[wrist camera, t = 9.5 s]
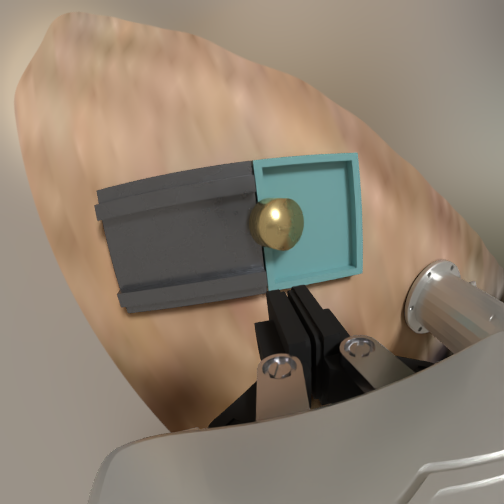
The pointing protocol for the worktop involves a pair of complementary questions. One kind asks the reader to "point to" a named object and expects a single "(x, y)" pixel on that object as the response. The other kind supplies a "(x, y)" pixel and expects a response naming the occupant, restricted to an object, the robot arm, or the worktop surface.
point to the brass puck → (276, 223)
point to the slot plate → (183, 237)
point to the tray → (315, 217)
